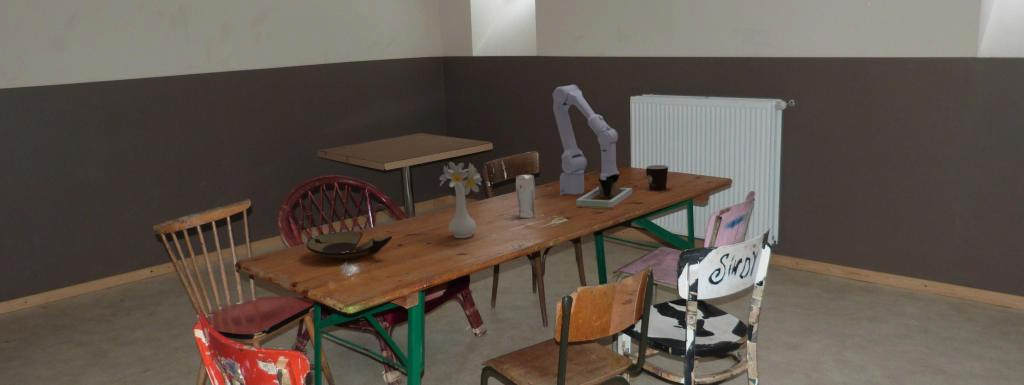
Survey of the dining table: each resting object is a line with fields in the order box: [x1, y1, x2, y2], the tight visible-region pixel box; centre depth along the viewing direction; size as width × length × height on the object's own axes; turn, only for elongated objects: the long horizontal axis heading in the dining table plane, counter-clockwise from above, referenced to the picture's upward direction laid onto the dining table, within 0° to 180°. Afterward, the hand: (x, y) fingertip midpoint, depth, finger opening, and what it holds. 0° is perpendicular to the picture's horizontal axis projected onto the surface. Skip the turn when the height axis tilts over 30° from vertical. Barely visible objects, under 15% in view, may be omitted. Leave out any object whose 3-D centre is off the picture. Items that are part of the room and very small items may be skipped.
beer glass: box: [515, 174, 536, 219], centre depth 309 cm, size 7×7×15 cm
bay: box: [576, 186, 633, 210], centre depth 328 cm, size 14×25×3 cm, turn 155°
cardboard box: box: [598, 181, 621, 199], centre depth 332 cm, size 7×5×6 cm
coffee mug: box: [645, 164, 669, 192], centre depth 342 cm, size 12×9×10 cm
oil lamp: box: [306, 231, 393, 260], centre depth 269 cm, size 22×30×8 cm
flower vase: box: [439, 161, 483, 239], centre depth 285 cm, size 13×18×25 cm
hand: (609, 194), depth 333 cm, fingers closed on cardboard box, 5 cm apart
